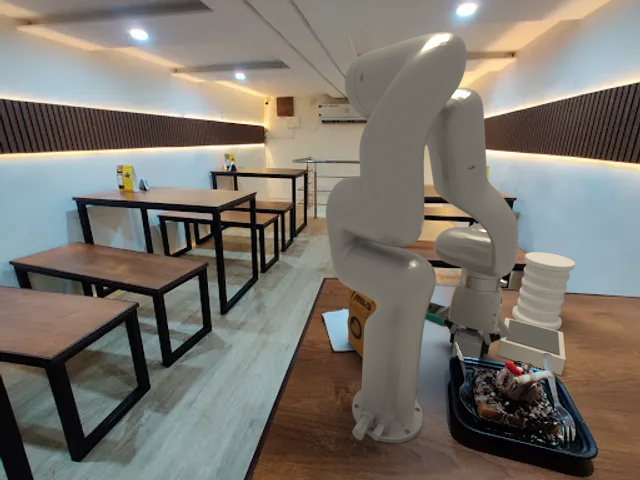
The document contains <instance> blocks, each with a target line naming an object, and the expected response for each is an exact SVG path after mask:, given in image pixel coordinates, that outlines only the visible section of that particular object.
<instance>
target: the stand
mask: <svg viewBox="0 0 640 480" xmlns="http://www.w3.org/2000/svg"><path fill="white" fill-rule="evenodd" d="M503 322H504V323H505V325H506V326H507V327H508V329H509V330H510V336H508V337H505V338H501V339H500V340H499V341H500V342H499V347H498V352H497V356H499V357H502V358H504V359H509V360H511V361H513V362H514V361H515V362H517V361H521V362H524V363H531V364H532V365H533V366H534V367H533V366H532V367H533V368H536V367H537V369H539V368H541V369H540V370H542V369H543V354H544V353H549V354H551V355H552V358H553V367H554V373H553V374H555V375H558V376H562V374H563V371H564V368H565V363H566V359H567V358H566V350H565V341H564V340H565V339H564V332H563V331H558V330H552V329H548V328H544V327H540V326H536V325H532V324H529V323H525V322H521V321H518V320H516V319H512V318H509V317H505V319H504V321H503Z"/></svg>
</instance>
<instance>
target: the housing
mask: <svg viewBox="0 0 640 480" xmlns="http://www.w3.org/2000/svg"><path fill="white" fill-rule="evenodd" d="M483 340H484V335H483V332H482V331H478V330H475V329H471V328H468V327H465V326H461V325H459V327H458V329H457V331H456V333H455V336H454V343H453V349H451V350H452V352H451V357H453V356H457V349H456V345H455V342H457V344H458V346H459V349H460V351H461V353H462V355H463V357H471V358H477V359H479V358H480V354H481V348H482V343H483ZM480 359H481V358H480Z"/></svg>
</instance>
